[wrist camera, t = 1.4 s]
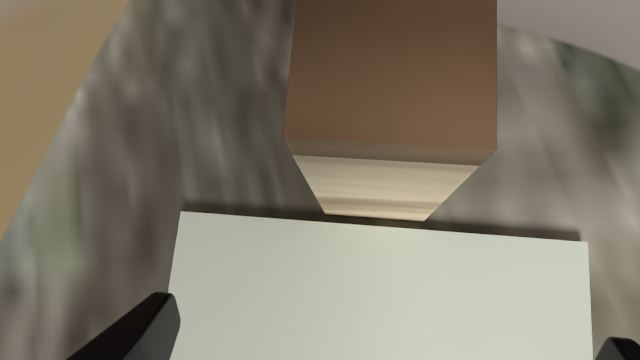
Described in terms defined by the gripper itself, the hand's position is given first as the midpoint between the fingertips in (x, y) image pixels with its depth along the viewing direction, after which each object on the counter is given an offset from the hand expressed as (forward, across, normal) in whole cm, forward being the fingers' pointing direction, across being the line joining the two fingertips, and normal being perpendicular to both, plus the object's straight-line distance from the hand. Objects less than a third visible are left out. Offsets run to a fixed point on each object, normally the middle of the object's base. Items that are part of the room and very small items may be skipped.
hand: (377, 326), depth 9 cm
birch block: (+14, 0, +4) cm, 15 cm away
